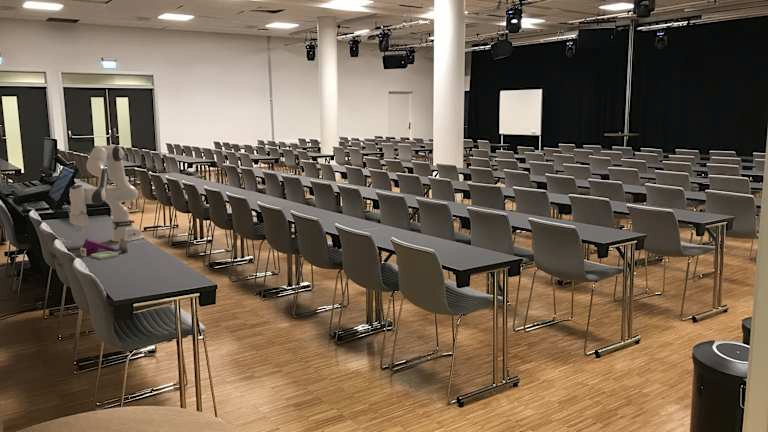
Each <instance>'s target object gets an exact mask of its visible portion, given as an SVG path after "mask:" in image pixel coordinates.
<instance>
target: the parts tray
mask: <svg viewBox="0 0 768 432" xmlns="http://www.w3.org/2000/svg"><path fill="white" fill-rule="evenodd" d="M119 255H120V254H119V253H117V252H114V251H113V252H111V251H108V250H105V251H101V252H100V251H99V252H97V253H94V254H91V255H90V258H93V259H97V260H100V261H101V260H105V259H110V258H116V257H119Z"/></svg>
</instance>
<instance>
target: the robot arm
mask: <svg viewBox="0 0 768 432" xmlns="http://www.w3.org/2000/svg"><path fill="white" fill-rule="evenodd" d="M124 157H125V151H124V149H123V148H122V147H121V146H118V145H107V144H106V145H94V146H92V148H91V149H90V152H89V156H88V159H87V161H86V164H85V165H86V170H87V171H88V172H89V173H90V174H91V175H92V176H95V177H97V178H98V181H97V187H96V188H85V187H84V185H82V184H74V185H72V186H70V188H69V201H70V208H69V209H68V211H67V212H68V216H69V222H70V224H73V227H74V230H75V232H79V231H80V228H79V227H81V228H82V230H81V233H82V234H86V230H87V228H88V227H90V221H89V220H90V219H89V215H88V214H87V205H91V204H92V205H100V206H101V205H102V204H103V203H106V204H108V206H109V208H110V210H111V215H112V221H111V222H112V223H111V224H112V237H111V238H112V239H111V241H112V242H119V238H126V239H127V242H132V240H133V241H136V240H141V239H142V240H143V239H145V238H146V237H145V235H142V233H141V232H142V231H141V230H140V228H138V227H136V226H135V225H133V224H135V220H132V219H130V210H129V208H127V207H126V206H125V205H123V204H122V202H133V201H136V200H137V198H138V196H139V192H138V188H136V187H135V186H133V185H132V184H131V183H130V182H129V180H128V178H127V176H126V172H125V165H124V161H123V159H124ZM108 180H109V181H110V182H112V183H113V184H115V185H113V186H112V185H111V186H110V185H109V186H107V185H108ZM86 204H87V205H86Z"/></svg>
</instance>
